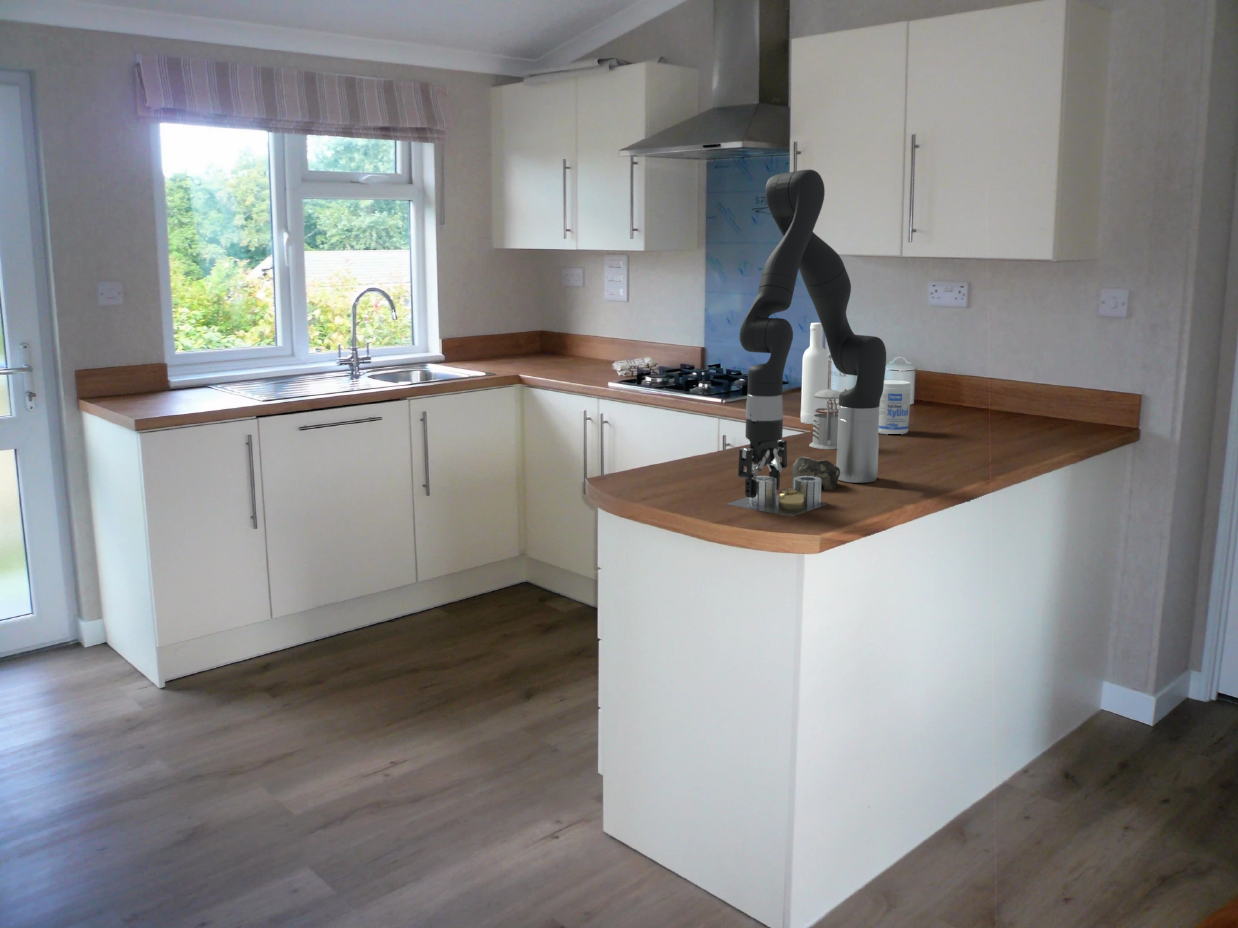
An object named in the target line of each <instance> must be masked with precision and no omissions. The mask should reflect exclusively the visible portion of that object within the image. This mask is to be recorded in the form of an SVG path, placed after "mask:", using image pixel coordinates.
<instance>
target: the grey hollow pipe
mask: <svg viewBox="0 0 1238 928" xmlns="http://www.w3.org/2000/svg"><path fill="white" fill-rule="evenodd" d="M792 489H796V490H797V491H799V492H803V493H804V505H805V506H806V505H807V506H813V505H818V504H820V503H821V502H822V501H821V500H822V485H821V478H818V477H814V476H799V477H795V478H794V488H792Z"/></svg>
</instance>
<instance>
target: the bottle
mask: <svg viewBox="0 0 1238 928" xmlns="http://www.w3.org/2000/svg"><path fill="white" fill-rule="evenodd" d="M809 330H810V331H809V332H810V333H809V334H810V335H809V347H808V348H806V349H805V350H804V353H803V355H802V362H801V363H802V365H801V366H802V367H801V369H802V370H801V401H800V403H801V404H800V422H801V423H802V424H806V425H813V423H814V420H813V418H814V415H816V414H823V413H818V412H816V411H815V410H816V409H818V408H827V403H828V399H820V398H815V397H814V394H816V393H817V392H819V391H822V390H827V389H829V386H828V385H829V383H828V382H829V363H830V358H827V355H828V354H829V353H828V351H827V350H826V349H825V348H824V347H823V333H824V330H823V327H822V324H821V322H811V323H810V326H809ZM815 423H816V424H819V423H818V422H815Z"/></svg>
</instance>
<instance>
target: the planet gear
mask: <svg viewBox="0 0 1238 928" xmlns="http://www.w3.org/2000/svg"><path fill="white" fill-rule="evenodd" d="M756 480H757V483H756V497H754V498H750V497H749V503H751V504H754V505H763V506H765V505H773V504H776V494H777V490H776V484H777V479H776V478H774V477H770V476H769V475H768V476H767V475H757V477H756Z"/></svg>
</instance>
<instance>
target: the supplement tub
mask: <svg viewBox="0 0 1238 928" xmlns="http://www.w3.org/2000/svg"><path fill="white" fill-rule="evenodd" d="M911 385H912V384H911V382H910V381H906V380H898V379H897V380H895V379H894V380H893V379H884V388H883V393H882V396H881V399H880V408H879V432H878V434H880V435H881V434H882V435H888V434H901V435H905V434H907V433H908V431H909V421H910V410H911V409H910V407H911V391H912V390H911V388H912V387H911Z"/></svg>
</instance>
